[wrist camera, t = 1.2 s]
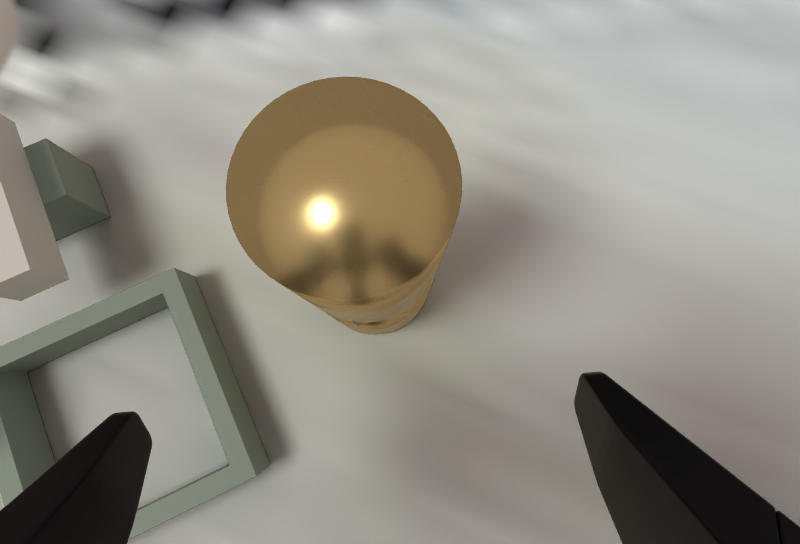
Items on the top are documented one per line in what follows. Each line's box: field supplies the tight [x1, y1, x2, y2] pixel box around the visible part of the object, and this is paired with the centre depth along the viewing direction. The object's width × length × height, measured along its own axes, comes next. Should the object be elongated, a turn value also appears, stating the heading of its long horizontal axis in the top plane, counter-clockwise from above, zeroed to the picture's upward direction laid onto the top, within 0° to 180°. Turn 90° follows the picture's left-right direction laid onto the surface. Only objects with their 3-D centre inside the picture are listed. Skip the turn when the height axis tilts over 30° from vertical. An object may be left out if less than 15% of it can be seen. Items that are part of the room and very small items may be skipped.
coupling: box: [226, 77, 462, 335], centre depth 16 cm, size 5×5×12 cm
